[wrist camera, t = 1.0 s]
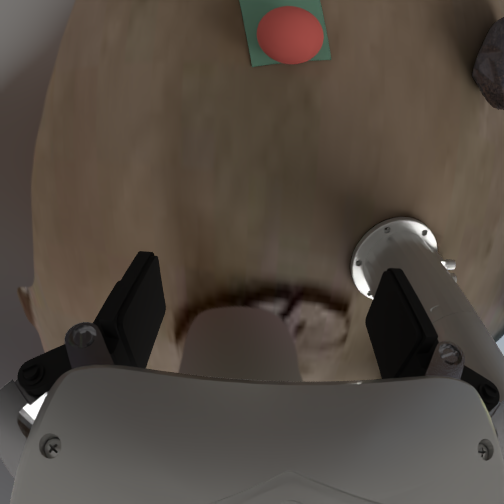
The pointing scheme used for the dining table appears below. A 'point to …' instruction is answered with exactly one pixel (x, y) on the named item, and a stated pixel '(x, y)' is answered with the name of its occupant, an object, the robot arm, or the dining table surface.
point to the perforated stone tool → (491, 66)
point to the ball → (290, 35)
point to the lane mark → (259, 4)
